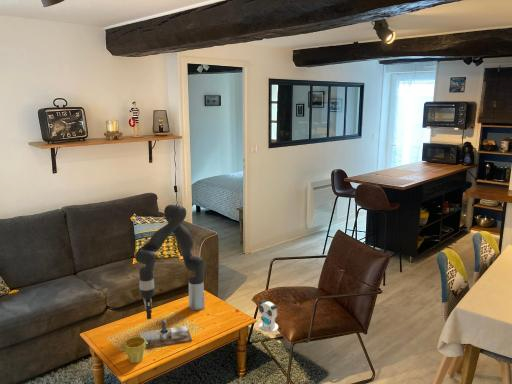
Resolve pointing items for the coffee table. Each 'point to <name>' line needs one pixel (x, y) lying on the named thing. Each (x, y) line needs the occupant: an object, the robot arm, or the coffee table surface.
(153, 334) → the hinge leaf
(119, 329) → the coffee table surface
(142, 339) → the plant pot
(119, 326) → the coffee table surface
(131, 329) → the coffee table surface
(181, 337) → the hinge base
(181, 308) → the coffee table surface
